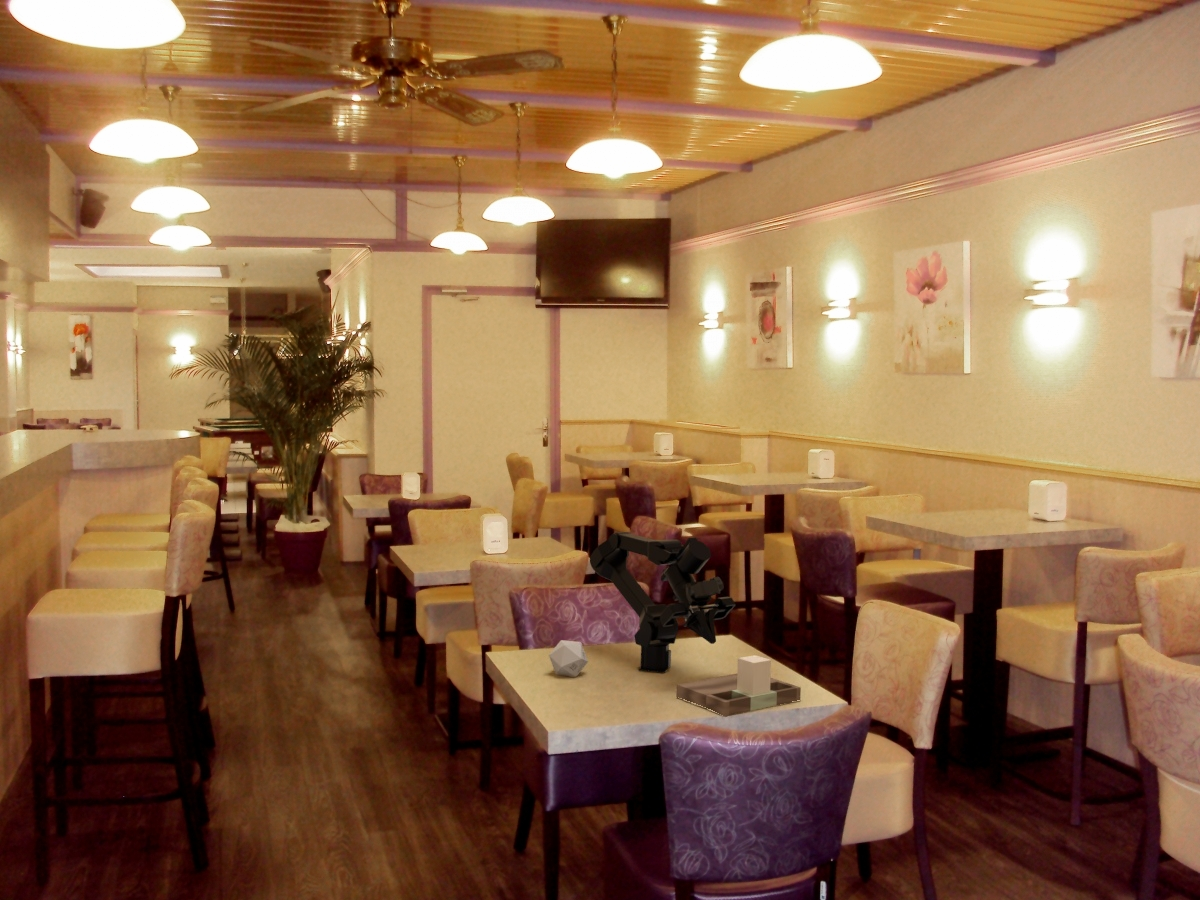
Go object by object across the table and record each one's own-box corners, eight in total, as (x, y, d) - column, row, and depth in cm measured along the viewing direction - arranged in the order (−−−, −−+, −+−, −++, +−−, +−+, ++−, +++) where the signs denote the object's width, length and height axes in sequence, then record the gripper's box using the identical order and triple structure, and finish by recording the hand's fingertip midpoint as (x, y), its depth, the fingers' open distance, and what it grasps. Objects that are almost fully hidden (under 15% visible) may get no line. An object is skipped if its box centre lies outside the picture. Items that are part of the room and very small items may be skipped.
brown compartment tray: (676, 697, 240) (676, 684, 240) (750, 683, 252) (750, 671, 252) (724, 716, 227) (725, 702, 226) (800, 700, 239) (800, 687, 239)
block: (737, 689, 236) (737, 658, 236) (754, 686, 239) (754, 655, 238) (752, 695, 232) (753, 663, 232) (770, 692, 235) (771, 660, 234)
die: (563, 684, 252) (588, 650, 252) (536, 661, 255) (562, 628, 256) (574, 688, 259) (599, 655, 260) (549, 665, 263) (573, 634, 263)
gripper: (669, 568, 244) (699, 627, 235) (731, 562, 254) (762, 618, 246) (646, 597, 251) (675, 655, 242) (708, 589, 261) (737, 645, 253)
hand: (713, 642), depth 246 cm, fingers closed
